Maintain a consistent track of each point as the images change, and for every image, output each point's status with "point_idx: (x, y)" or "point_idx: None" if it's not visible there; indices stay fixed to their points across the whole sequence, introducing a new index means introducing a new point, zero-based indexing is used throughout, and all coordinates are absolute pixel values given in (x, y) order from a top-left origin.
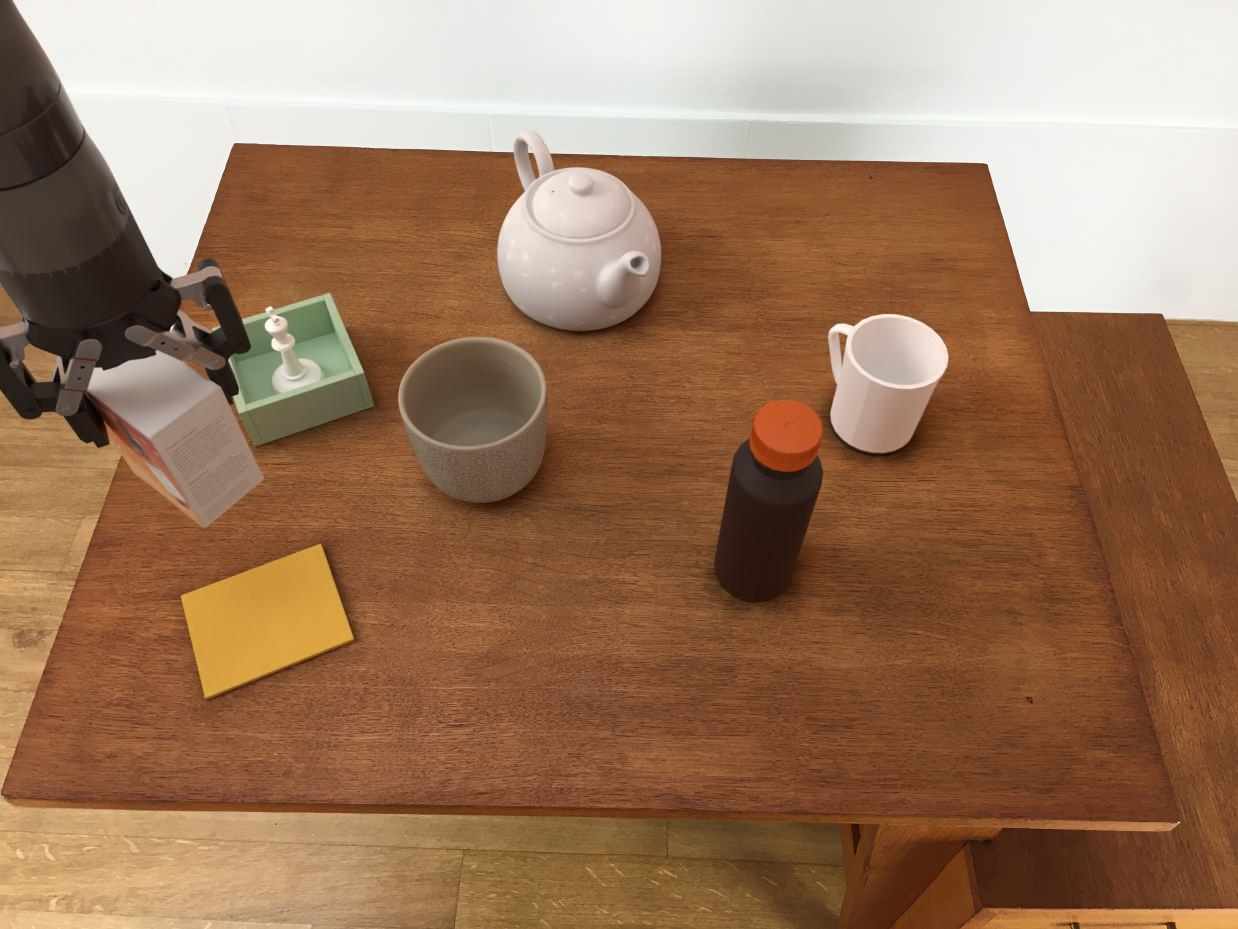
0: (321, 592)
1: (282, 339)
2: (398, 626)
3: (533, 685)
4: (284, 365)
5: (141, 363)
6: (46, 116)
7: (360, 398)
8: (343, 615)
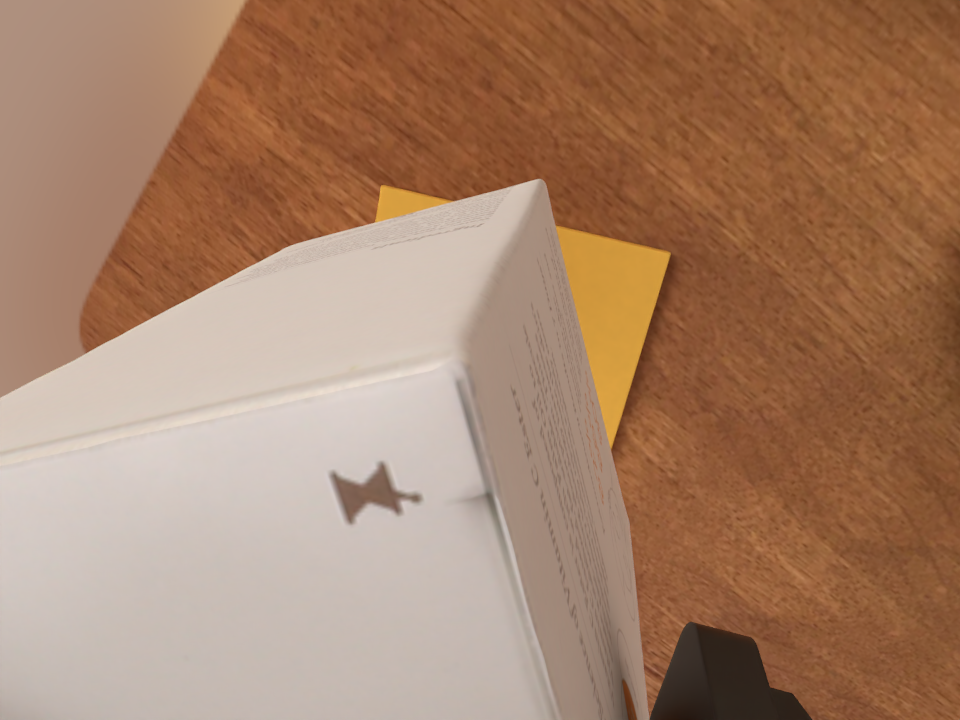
0: (608, 355)
1: None
2: (682, 491)
3: None
4: None
5: (306, 688)
6: None
7: None
8: (615, 421)
